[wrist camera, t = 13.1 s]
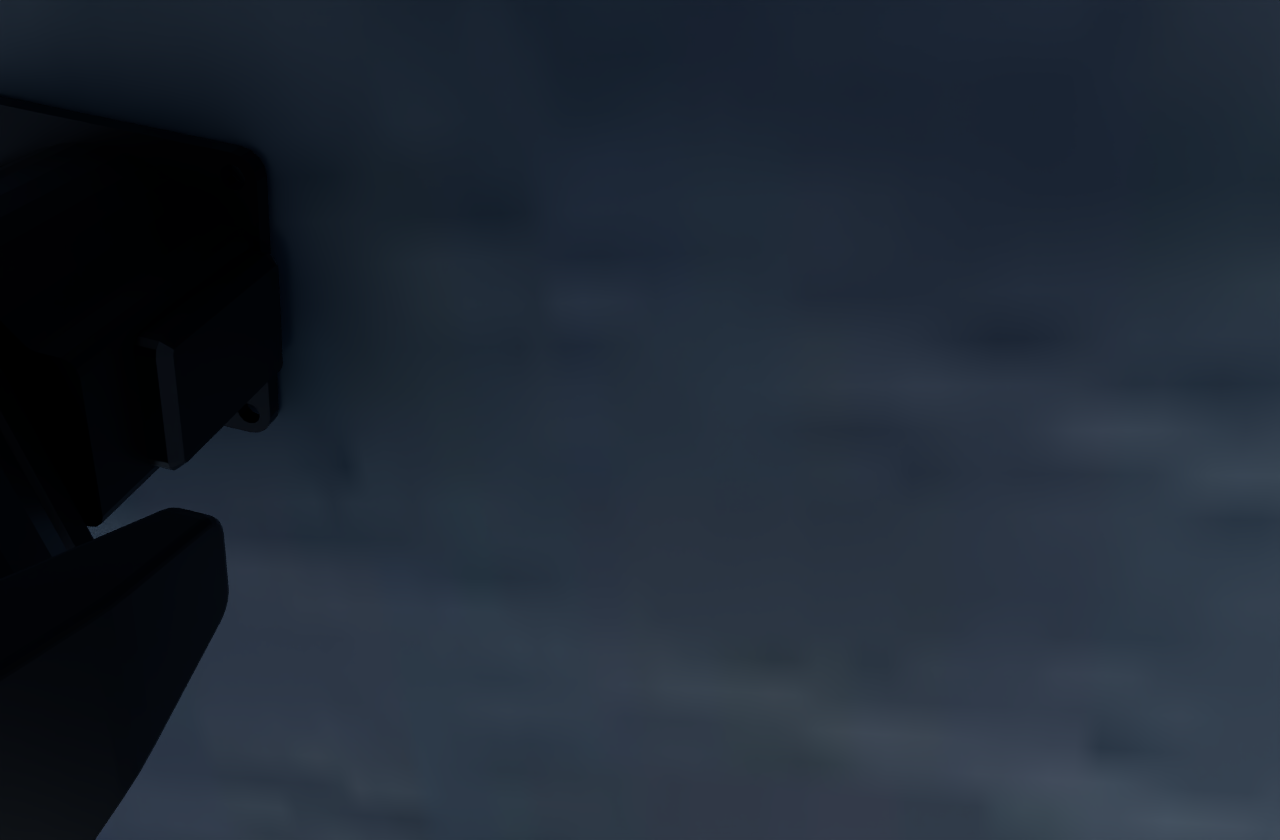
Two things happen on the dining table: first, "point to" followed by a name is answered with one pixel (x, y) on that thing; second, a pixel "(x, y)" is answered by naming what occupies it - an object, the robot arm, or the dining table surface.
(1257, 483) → the dining table surface
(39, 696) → the robot arm
